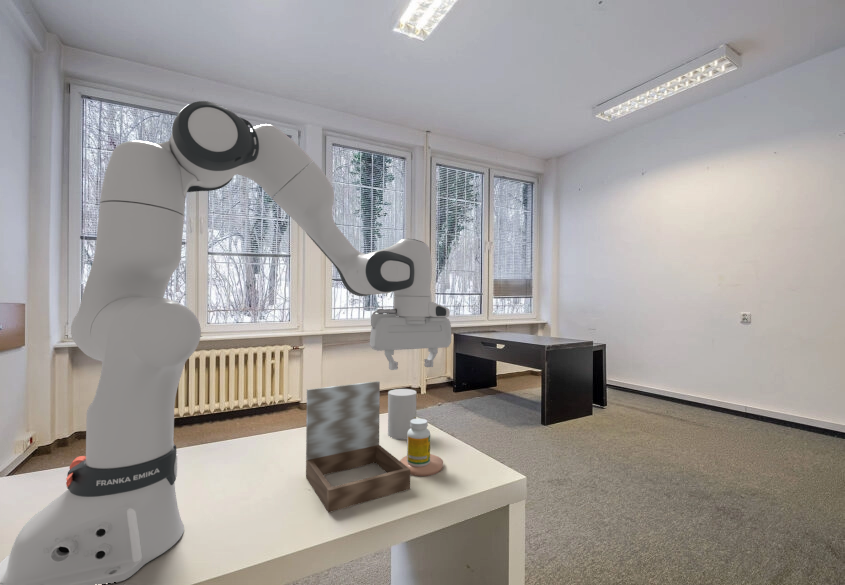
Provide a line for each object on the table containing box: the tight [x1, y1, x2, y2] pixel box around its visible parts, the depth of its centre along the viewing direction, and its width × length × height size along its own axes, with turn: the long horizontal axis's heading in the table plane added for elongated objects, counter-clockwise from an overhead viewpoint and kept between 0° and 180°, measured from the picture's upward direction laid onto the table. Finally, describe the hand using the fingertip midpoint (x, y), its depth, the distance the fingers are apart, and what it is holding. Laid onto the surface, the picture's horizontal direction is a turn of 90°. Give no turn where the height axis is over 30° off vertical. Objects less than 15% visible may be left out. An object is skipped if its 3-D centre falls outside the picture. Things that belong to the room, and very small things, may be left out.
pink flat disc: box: [399, 453, 444, 477], centre depth 89 cm, size 10×10×1 cm
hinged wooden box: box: [305, 380, 411, 513], centre depth 81 cm, size 17×16×19 cm
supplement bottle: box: [406, 418, 431, 467], centre depth 89 cm, size 5×5×10 cm
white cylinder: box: [387, 388, 417, 440], centre depth 110 cm, size 8×8×12 cm
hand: (411, 368), depth 90 cm, fingers open, 8 cm apart
